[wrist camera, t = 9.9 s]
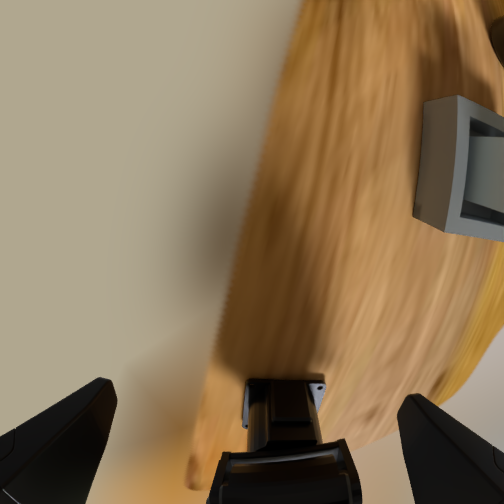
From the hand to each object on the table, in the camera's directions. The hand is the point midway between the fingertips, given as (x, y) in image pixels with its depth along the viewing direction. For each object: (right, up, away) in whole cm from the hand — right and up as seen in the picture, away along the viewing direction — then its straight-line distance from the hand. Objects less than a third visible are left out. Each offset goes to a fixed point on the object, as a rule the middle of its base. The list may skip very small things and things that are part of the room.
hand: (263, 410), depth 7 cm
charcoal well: (+15, +10, +9) cm, 20 cm away
